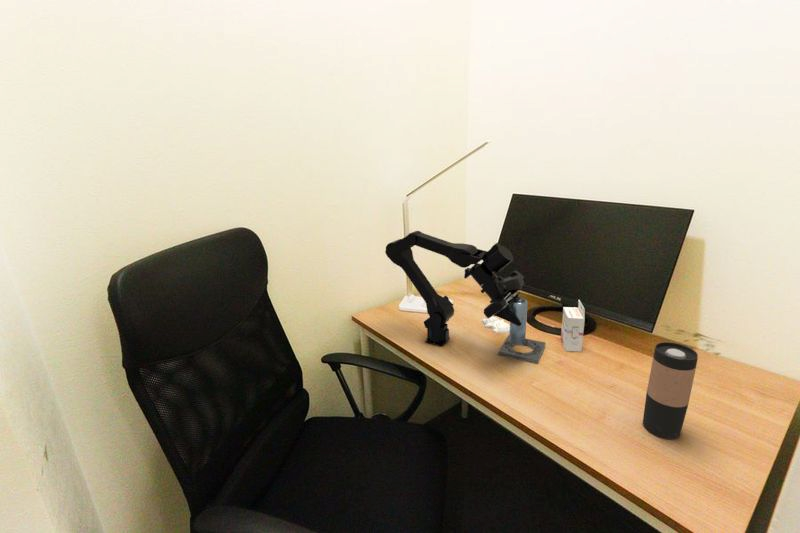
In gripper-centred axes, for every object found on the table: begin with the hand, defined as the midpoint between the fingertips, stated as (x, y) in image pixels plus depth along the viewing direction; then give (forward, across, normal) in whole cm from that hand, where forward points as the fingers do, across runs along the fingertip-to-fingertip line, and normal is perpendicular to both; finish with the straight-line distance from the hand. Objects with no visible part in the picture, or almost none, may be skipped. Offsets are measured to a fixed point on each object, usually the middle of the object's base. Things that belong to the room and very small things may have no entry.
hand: (522, 321), depth 110 cm
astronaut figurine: (0, +20, +20) cm, 28 cm away
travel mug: (+35, -12, -16) cm, 40 cm away
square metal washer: (+8, +7, +11) cm, 15 cm away
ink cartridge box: (+17, +18, +2) cm, 25 cm away
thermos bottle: (+4, 0, +6) cm, 7 cm away
